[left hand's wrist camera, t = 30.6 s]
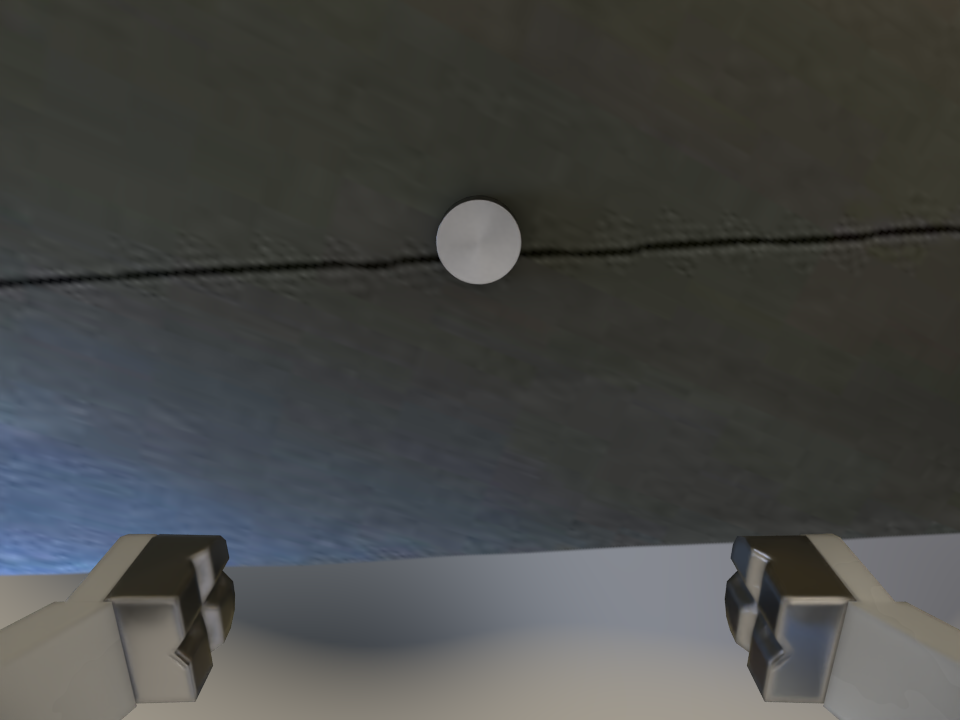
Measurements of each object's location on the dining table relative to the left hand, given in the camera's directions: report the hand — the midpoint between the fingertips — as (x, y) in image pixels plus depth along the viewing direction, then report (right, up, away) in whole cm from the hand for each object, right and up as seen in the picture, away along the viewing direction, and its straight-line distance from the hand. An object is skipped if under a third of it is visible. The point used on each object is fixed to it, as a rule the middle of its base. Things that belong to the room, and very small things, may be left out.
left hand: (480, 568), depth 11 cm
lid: (0, +10, +27) cm, 29 cm away
